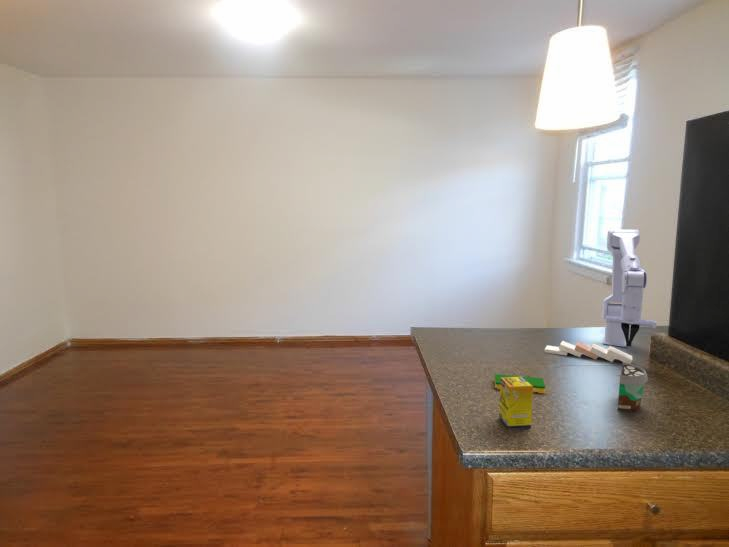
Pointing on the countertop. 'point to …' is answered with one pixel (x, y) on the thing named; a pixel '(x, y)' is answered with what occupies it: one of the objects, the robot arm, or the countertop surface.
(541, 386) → the dish sponge
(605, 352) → the domino
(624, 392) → the food container
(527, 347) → the countertop surface
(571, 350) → the domino
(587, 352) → the domino
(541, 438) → the countertop surface
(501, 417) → the supplement box
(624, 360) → the domino
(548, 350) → the domino
